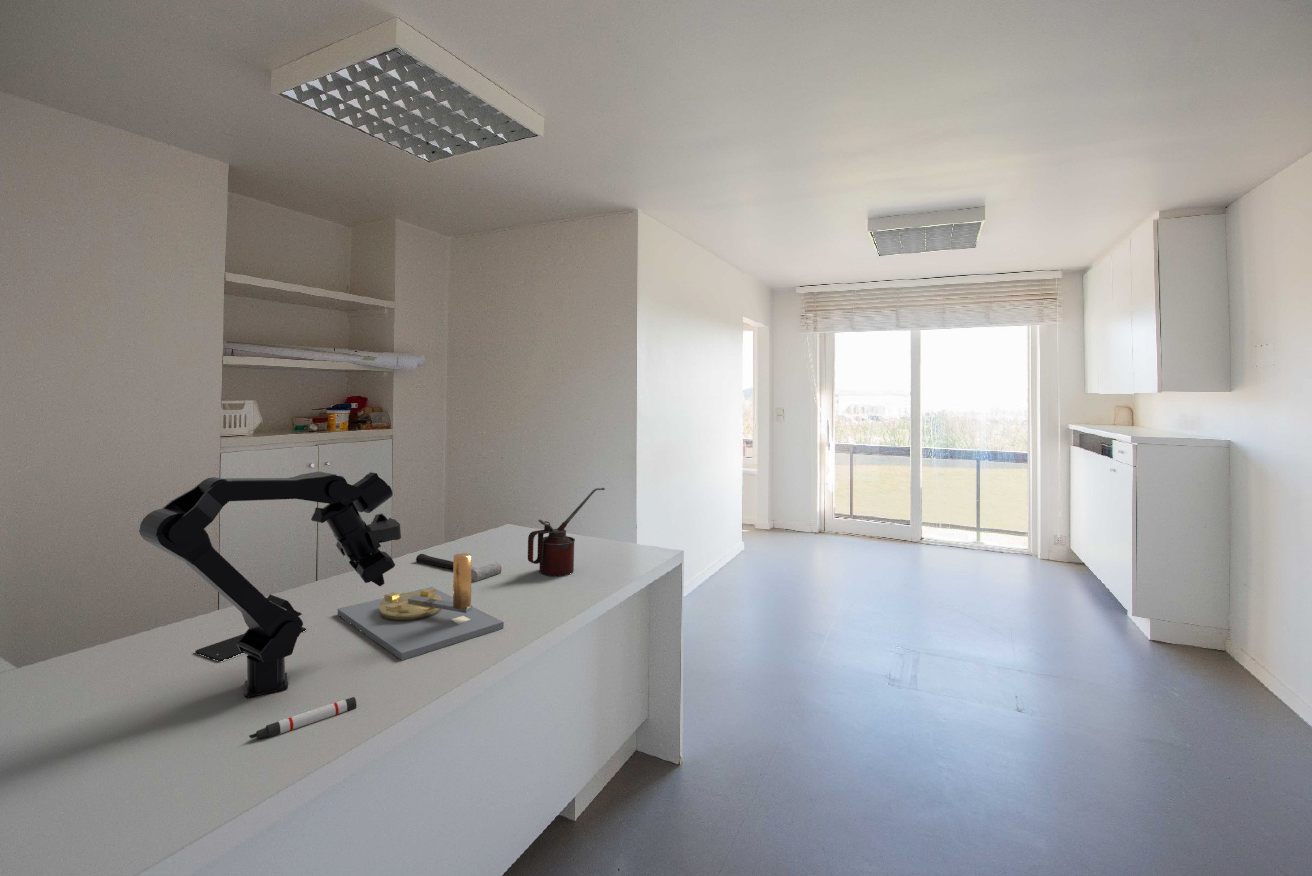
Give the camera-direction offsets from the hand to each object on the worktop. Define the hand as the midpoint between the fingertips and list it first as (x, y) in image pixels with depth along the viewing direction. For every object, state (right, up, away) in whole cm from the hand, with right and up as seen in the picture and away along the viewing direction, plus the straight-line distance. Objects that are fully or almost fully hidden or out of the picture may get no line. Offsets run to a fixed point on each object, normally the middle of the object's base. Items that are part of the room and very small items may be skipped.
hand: (381, 584), depth 125 cm
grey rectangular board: (+3, -12, +14) cm, 18 cm away
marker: (+1, -16, -30) cm, 34 cm away
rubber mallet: (-4, -10, +55) cm, 56 cm away
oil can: (+31, -10, +59) cm, 68 cm away
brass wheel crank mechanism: (+4, -10, +15) cm, 18 cm away
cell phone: (-27, -13, 0) cm, 30 cm away
